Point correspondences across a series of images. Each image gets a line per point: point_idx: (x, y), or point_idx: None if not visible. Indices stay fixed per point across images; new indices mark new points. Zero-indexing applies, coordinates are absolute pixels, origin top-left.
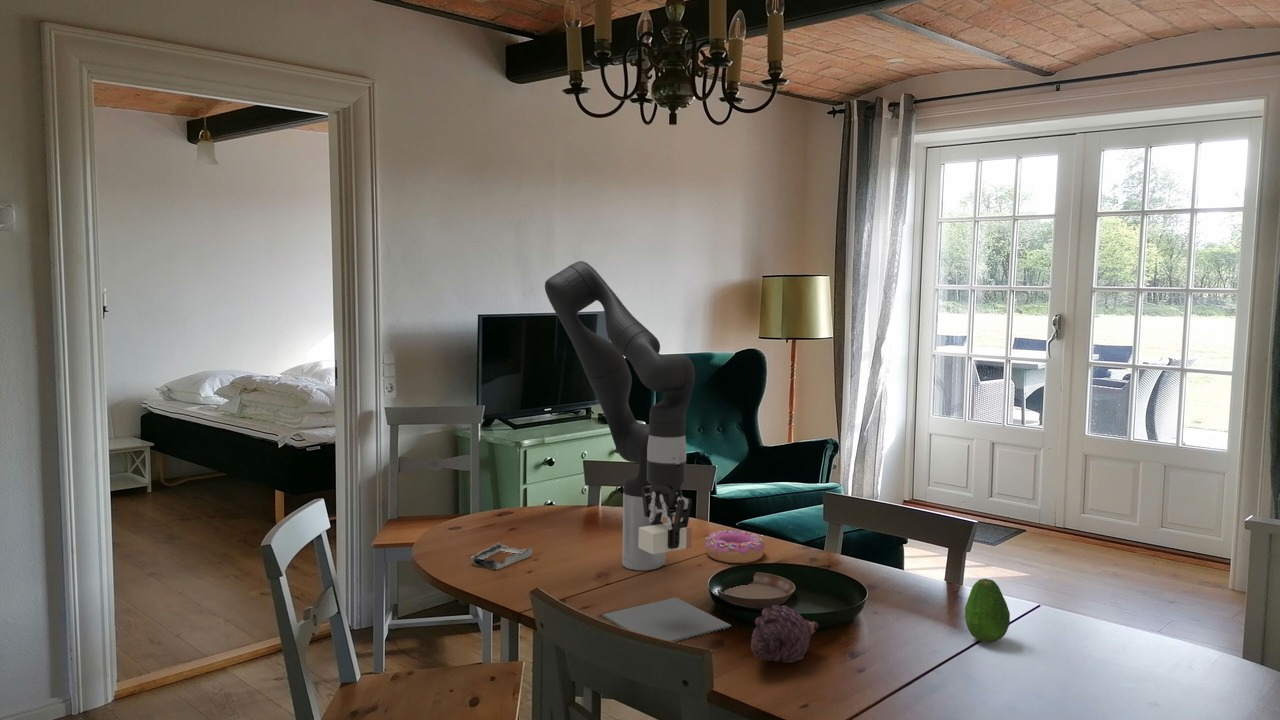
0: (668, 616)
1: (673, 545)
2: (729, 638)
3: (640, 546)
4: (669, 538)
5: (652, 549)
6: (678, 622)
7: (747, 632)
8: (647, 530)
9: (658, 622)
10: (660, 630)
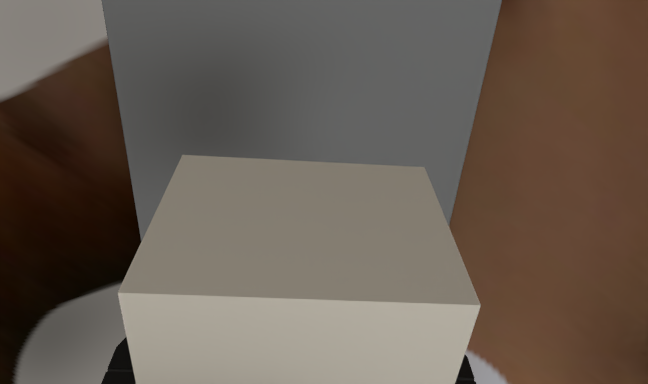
0: (319, 139)
1: (126, 341)
2: (65, 188)
3: (392, 176)
4: (133, 375)
5: (178, 177)
6: (249, 132)
7: (88, 255)
8: (288, 312)
9: (291, 72)
10: (214, 25)
